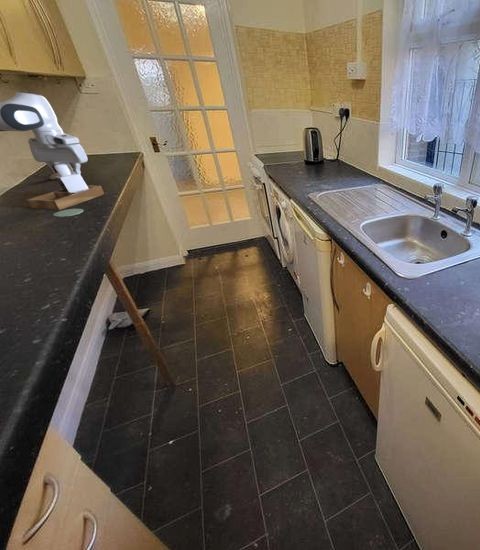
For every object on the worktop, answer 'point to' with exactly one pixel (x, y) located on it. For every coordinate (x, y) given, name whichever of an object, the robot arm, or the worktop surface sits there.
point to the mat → (68, 212)
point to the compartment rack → (64, 198)
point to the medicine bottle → (69, 178)
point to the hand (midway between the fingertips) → (68, 173)
